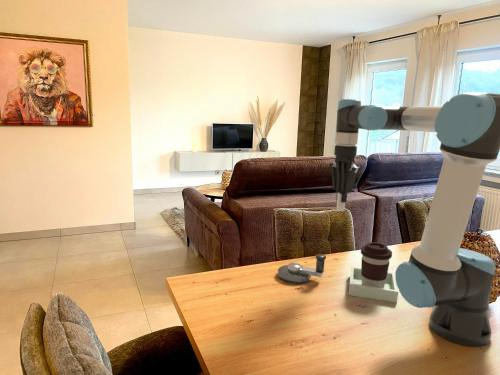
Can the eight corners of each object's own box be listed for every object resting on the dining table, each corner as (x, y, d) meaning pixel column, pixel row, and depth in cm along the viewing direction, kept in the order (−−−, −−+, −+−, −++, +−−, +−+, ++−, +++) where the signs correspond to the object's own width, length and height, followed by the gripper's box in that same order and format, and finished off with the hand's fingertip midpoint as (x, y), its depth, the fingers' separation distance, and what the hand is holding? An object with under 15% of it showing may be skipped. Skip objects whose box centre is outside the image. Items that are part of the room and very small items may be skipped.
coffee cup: (354, 289, 126) (358, 247, 123) (361, 278, 135) (364, 238, 132) (385, 296, 122) (390, 253, 118) (389, 284, 130) (394, 244, 127)
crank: (286, 272, 134) (287, 253, 133) (289, 266, 139) (290, 248, 137) (323, 278, 130) (324, 259, 128) (325, 273, 134) (327, 254, 133)
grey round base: (314, 287, 128) (314, 281, 128) (274, 280, 132) (274, 275, 132) (318, 273, 140) (318, 268, 139) (281, 267, 143) (281, 262, 143)
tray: (397, 302, 120) (398, 291, 119) (348, 295, 124) (349, 284, 123) (393, 282, 134) (394, 272, 133) (350, 276, 138) (351, 266, 137)
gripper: (367, 146, 126) (361, 214, 131) (341, 143, 137) (336, 205, 142) (351, 147, 123) (345, 216, 127) (325, 143, 134) (320, 207, 139)
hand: (340, 210), depth 135 cm, fingers closed
